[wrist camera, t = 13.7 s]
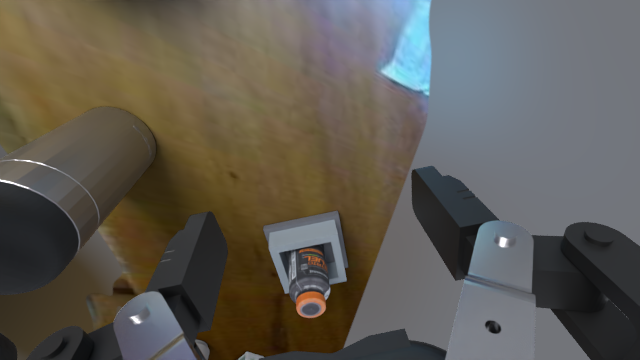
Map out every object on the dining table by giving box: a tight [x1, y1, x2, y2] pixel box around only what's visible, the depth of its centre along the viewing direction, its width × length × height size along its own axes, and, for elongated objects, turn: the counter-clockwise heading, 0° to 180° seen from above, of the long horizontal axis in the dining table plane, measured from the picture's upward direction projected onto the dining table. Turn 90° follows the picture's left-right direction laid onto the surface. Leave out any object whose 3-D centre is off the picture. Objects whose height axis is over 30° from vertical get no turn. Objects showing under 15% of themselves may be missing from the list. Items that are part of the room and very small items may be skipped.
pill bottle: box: [289, 244, 330, 318], centre depth 45 cm, size 6×6×11 cm
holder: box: [263, 211, 348, 294], centre depth 49 cm, size 12×12×4 cm
